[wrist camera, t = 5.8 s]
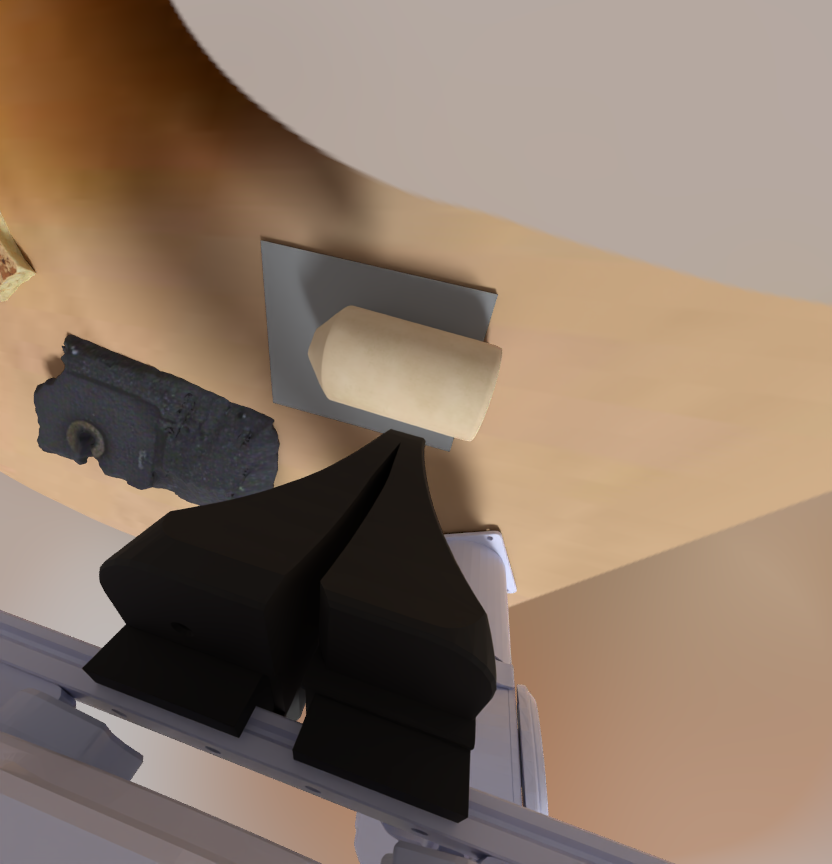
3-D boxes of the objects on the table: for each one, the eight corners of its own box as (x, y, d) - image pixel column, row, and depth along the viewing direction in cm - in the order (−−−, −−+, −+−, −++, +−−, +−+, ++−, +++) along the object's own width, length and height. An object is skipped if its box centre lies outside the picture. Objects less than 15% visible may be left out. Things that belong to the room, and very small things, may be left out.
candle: (467, 437, 20) (327, 395, 20) (492, 356, 19) (348, 316, 20) (476, 449, 14) (284, 390, 15) (512, 336, 14) (311, 280, 14)
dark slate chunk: (280, 528, 33) (250, 565, 29) (100, 456, 33) (47, 482, 29) (290, 414, 25) (252, 443, 21) (54, 321, 25) (-29, 332, 21)
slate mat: (497, 294, 17) (497, 294, 16) (450, 449, 22) (449, 451, 22) (263, 240, 18) (260, 240, 18) (275, 400, 24) (273, 402, 23)
